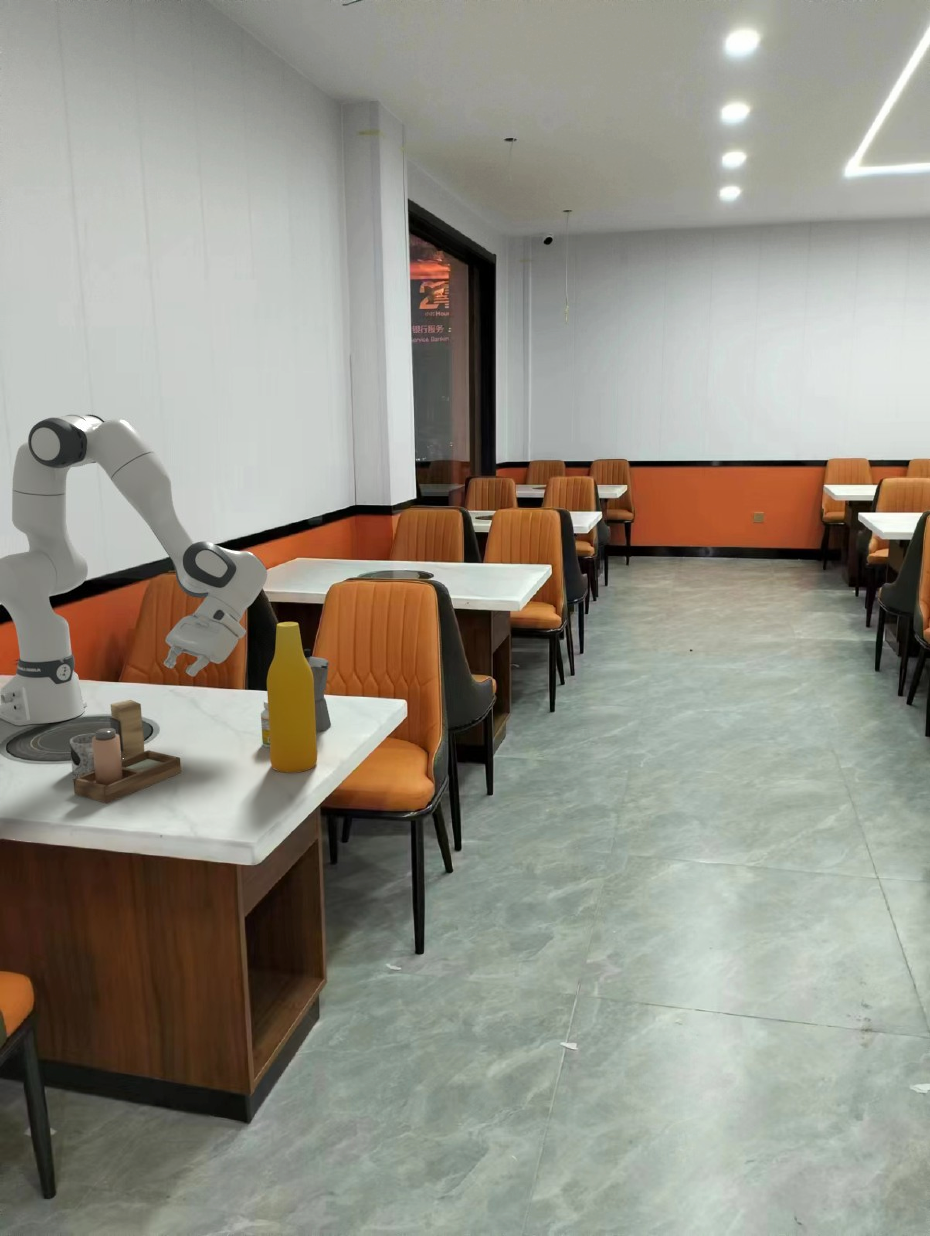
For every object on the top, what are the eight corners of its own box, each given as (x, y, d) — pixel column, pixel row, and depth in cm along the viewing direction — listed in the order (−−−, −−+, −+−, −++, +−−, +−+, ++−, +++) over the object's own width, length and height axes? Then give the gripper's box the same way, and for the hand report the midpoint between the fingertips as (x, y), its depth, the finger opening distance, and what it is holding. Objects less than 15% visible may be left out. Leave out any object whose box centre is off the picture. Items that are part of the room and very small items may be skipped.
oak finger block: (112, 755, 206) (107, 704, 203) (134, 749, 209) (130, 699, 207) (121, 760, 203) (117, 709, 200) (144, 754, 206) (140, 704, 204)
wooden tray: (74, 794, 185) (73, 778, 185) (149, 764, 200) (148, 750, 200) (107, 803, 181) (105, 787, 180) (181, 772, 196) (180, 757, 195)
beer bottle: (273, 758, 203) (266, 619, 197) (319, 756, 204) (313, 618, 198) (268, 774, 194) (260, 629, 188) (315, 772, 195) (309, 628, 189)
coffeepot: (345, 727, 222) (342, 649, 219) (313, 738, 215) (309, 657, 212) (301, 714, 232) (297, 639, 229) (269, 724, 225) (264, 647, 222)
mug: (71, 767, 199) (68, 736, 198) (106, 762, 202) (103, 731, 200) (74, 784, 190) (71, 751, 189) (111, 779, 193) (108, 746, 191)
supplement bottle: (278, 738, 216) (276, 695, 214) (293, 743, 212) (291, 700, 210) (257, 744, 212) (255, 700, 210) (271, 750, 208) (269, 705, 206)
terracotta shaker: (90, 784, 186) (85, 732, 184) (111, 776, 190) (106, 725, 188) (108, 789, 183) (103, 736, 181) (128, 781, 187) (124, 729, 185)
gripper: (182, 603, 221) (144, 653, 216) (231, 616, 207) (192, 670, 202) (201, 620, 225) (164, 669, 220) (250, 633, 211) (212, 687, 206)
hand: (178, 670), depth 211 cm, fingers open, 8 cm apart
